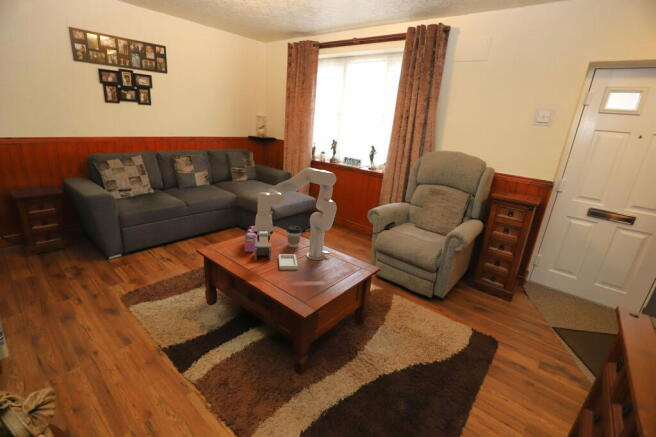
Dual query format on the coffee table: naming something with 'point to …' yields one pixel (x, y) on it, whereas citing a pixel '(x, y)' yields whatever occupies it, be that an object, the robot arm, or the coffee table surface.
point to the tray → (287, 262)
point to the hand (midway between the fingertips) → (263, 240)
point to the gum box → (250, 240)
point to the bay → (262, 250)
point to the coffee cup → (293, 236)
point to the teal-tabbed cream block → (263, 238)
